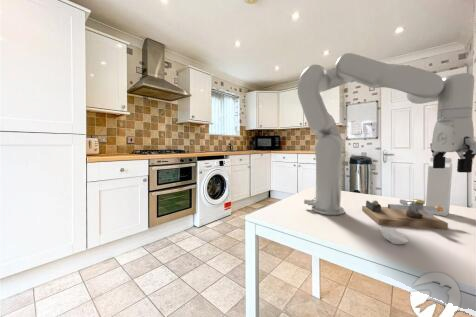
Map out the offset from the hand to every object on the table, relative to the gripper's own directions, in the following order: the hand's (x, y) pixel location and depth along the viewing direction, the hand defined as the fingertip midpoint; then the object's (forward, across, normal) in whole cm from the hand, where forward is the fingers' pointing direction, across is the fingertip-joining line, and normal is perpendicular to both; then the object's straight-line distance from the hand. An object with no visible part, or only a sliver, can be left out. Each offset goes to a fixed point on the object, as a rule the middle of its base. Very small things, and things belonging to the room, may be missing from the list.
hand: (450, 170), depth 65 cm
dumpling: (+20, +13, -22) cm, 32 cm away
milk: (+20, -17, +8) cm, 27 cm away
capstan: (+17, -4, -7) cm, 19 cm away
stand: (+19, -8, -10) cm, 23 cm away
